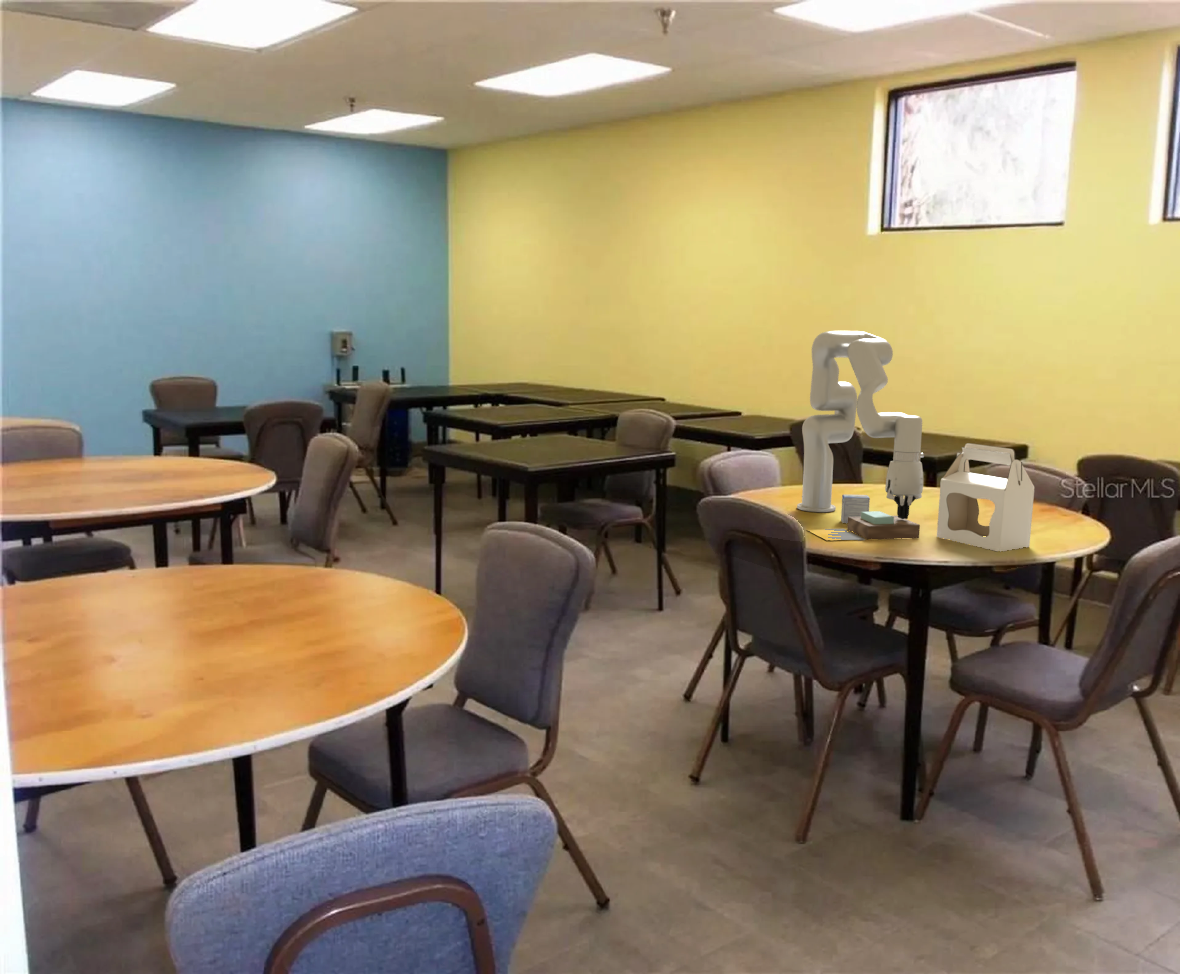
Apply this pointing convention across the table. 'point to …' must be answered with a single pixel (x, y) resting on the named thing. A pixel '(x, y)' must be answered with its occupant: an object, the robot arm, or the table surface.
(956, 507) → the gable box
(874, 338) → the robot arm
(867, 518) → the block
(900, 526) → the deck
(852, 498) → the medicine box
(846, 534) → the mat
